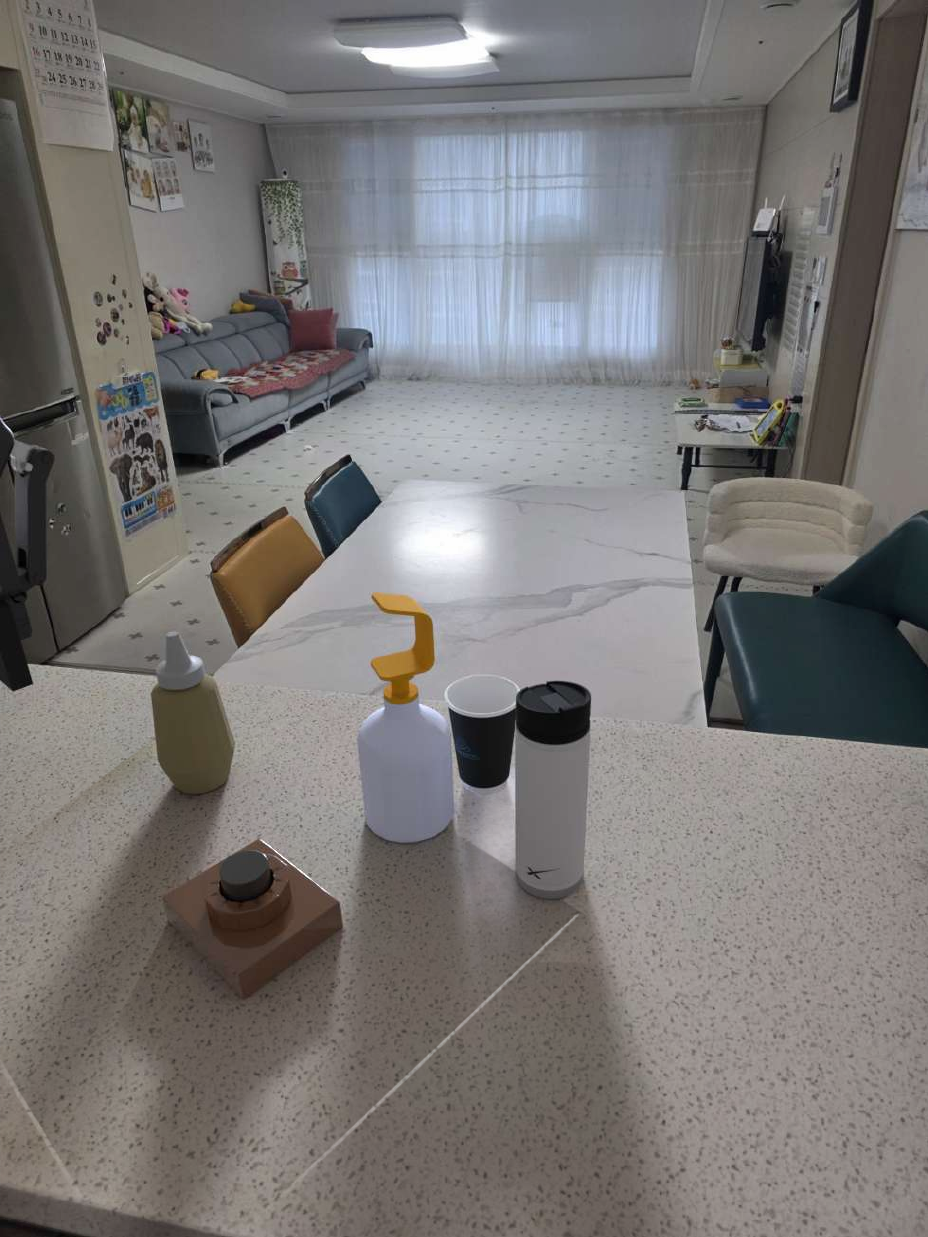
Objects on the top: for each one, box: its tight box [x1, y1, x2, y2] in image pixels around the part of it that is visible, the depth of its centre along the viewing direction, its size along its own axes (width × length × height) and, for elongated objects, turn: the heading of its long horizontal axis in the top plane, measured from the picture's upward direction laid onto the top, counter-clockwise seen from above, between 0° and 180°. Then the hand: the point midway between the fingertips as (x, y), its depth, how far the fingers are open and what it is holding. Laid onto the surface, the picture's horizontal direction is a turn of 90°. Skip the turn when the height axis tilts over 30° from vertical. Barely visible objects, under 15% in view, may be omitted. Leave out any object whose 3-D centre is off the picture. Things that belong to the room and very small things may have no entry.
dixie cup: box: [443, 674, 521, 796], centre depth 86 cm, size 8×8×11 cm
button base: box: [161, 838, 344, 1001], centre depth 71 cm, size 12×10×5 cm
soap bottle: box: [356, 592, 455, 844], centre depth 79 cm, size 9×9×25 cm
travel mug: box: [514, 680, 592, 900], centre depth 71 cm, size 6×7×20 cm
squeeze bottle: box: [150, 630, 236, 795], centre depth 87 cm, size 8×8×18 cm
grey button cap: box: [219, 850, 271, 902], centre depth 69 cm, size 4×4×2 cm
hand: (16, 681), depth 62 cm, fingers closed
